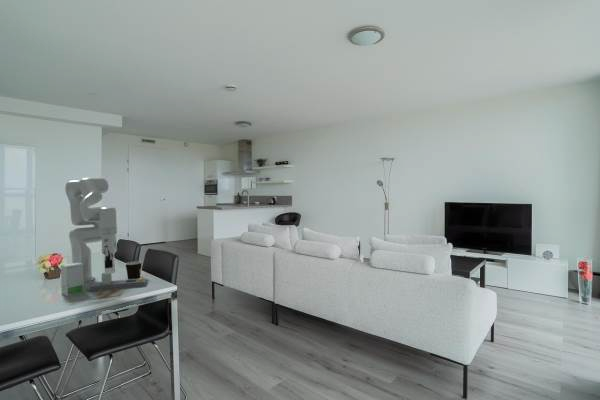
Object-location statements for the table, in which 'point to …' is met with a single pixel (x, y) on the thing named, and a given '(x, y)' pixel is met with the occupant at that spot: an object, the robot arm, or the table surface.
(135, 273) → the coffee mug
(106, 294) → the walnut board
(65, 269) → the skincare box
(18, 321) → the table surface
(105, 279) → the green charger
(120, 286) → the power strip
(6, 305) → the table surface
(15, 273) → the table surface
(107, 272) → the white charger
